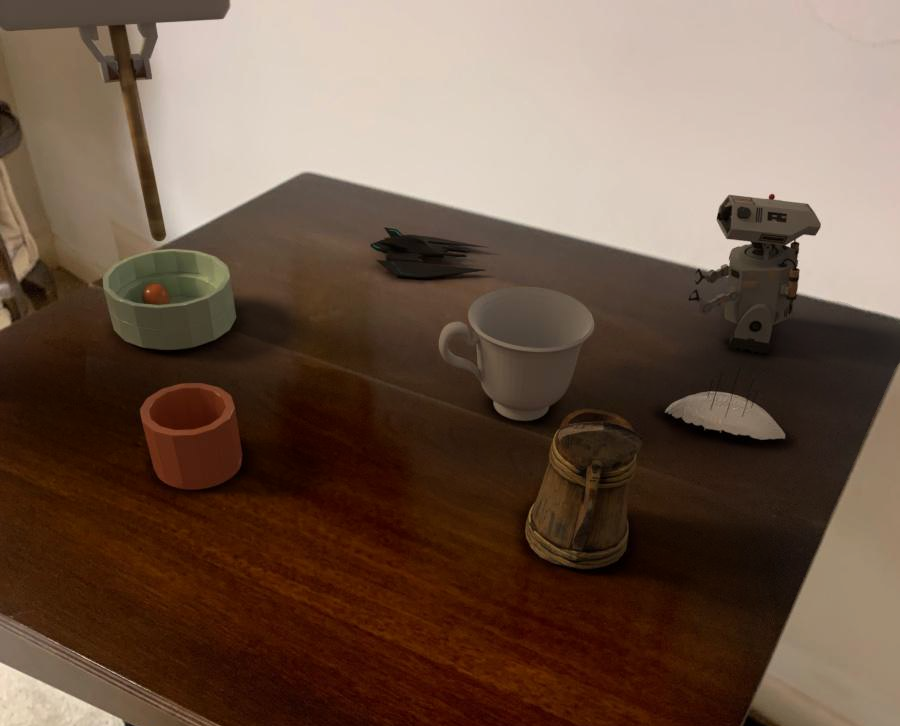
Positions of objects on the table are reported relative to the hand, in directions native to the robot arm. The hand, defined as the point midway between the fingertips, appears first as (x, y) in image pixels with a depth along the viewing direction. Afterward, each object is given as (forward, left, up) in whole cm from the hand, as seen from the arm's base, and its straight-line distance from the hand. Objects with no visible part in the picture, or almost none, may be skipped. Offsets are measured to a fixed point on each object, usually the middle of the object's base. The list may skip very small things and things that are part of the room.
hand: (127, 79), depth 82 cm
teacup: (+38, -10, -25) cm, 47 cm away
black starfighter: (+26, +21, -25) cm, 42 cm away
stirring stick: (+1, -1, -15) cm, 15 cm away
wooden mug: (+45, -31, -25) cm, 60 cm away
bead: (-2, +2, -23) cm, 23 cm away
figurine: (+63, +10, -25) cm, 68 cm away
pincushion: (+60, -10, -25) cm, 66 cm away
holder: (+10, -24, -25) cm, 36 cm away
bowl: (0, 0, -25) cm, 25 cm away
